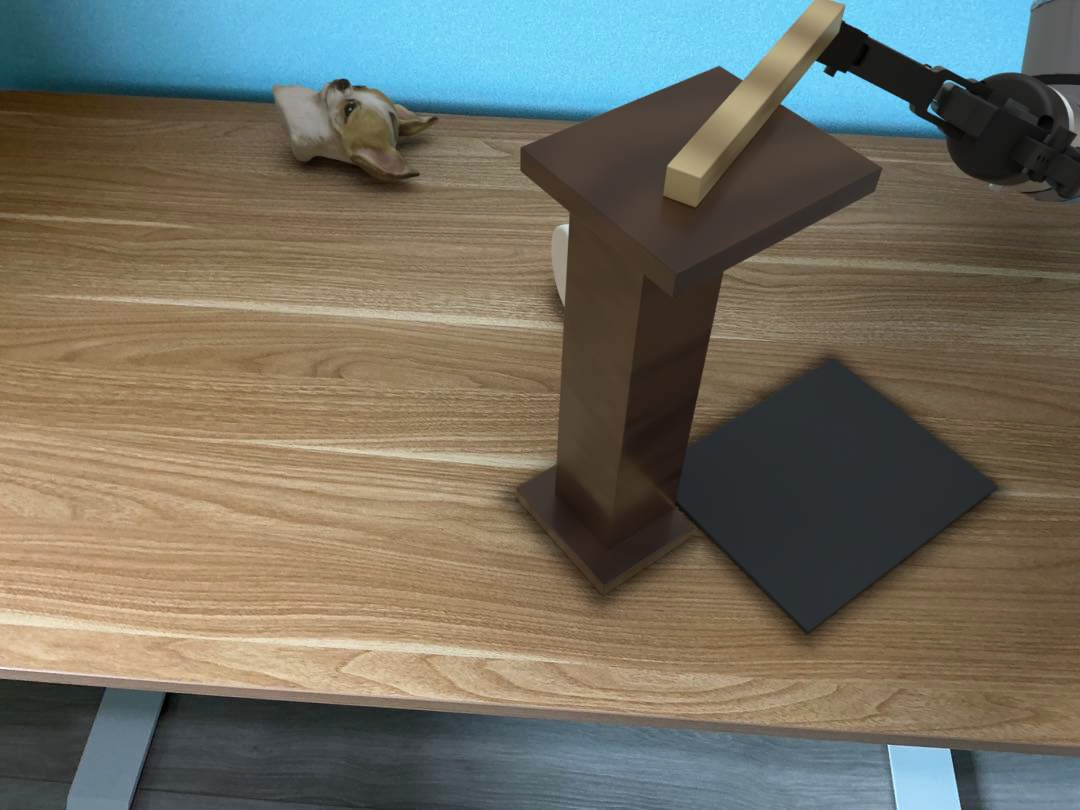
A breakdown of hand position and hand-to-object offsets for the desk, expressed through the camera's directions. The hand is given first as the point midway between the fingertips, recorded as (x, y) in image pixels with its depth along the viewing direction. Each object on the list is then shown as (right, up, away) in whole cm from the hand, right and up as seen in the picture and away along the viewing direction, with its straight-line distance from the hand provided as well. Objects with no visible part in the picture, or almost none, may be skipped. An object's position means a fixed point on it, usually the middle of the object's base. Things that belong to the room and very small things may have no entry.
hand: (890, 78), depth 57 cm
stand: (-13, -25, +15) cm, 32 cm away
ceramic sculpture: (-38, +6, +41) cm, 56 cm away
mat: (0, -24, +16) cm, 29 cm away
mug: (-13, -11, +27) cm, 32 cm away
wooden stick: (-8, -3, -3) cm, 9 cm away
